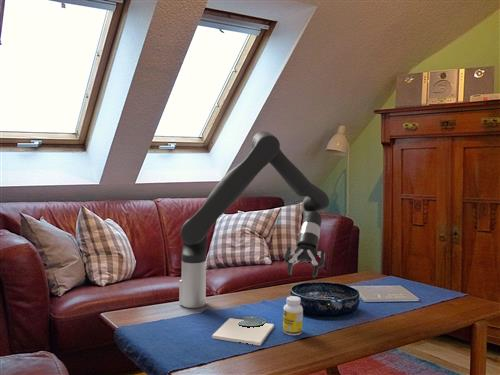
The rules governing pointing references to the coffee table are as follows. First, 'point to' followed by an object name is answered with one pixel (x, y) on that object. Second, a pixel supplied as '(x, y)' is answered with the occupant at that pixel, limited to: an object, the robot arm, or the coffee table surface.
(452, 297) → the coffee table surface
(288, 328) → the pill bottle
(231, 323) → the cream tile
